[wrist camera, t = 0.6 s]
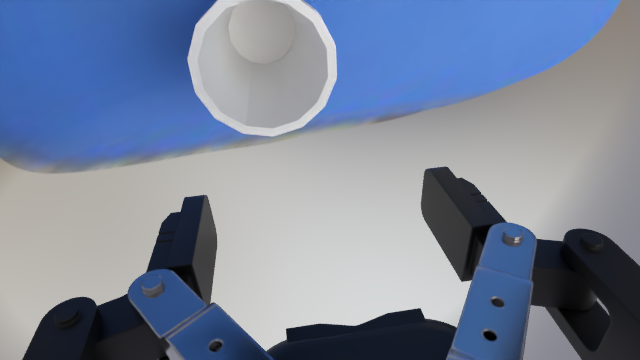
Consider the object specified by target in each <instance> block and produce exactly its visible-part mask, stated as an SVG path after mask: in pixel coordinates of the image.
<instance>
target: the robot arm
mask: <svg viewBox="0 0 640 360" xmlns="http://www.w3.org/2000/svg"><path fill="white" fill-rule="evenodd" d="M421 210H422V214H423V217H424V220H425V221H426V223H427V225H428V226H429V228H430V229H431V231H432V233H433V235H434V236H435V238H436V240H437V241H438V243H439V245H440V246H441V248H442V250H443V251H444V253H445V255H446V256H447V258H448V260H449V261H450V263H451V265H452V266H453V268H454V270H455V271H456V273H457V275H458V276H459V278H460V280H461V281H462V282H463V281H470V280H472V282H471V285H470V288H469V291H468V295H467V298H466V301H465V304H464V307H463V311H462V314H461V317H460V320H459V323H458V326H457V328H456V327H454V326H452V325H450V324H447V323H444V322H441V321H436V320H431V319H425V318H424V315H423V313H422V311H421V309H413V310H406V311H399V312H393V313H387V314H385V315H383V316H380V317H377V318H375V319H373V320H370V321H368V322H366V323H363V324H360V325H357V326H346V325H332V324H314V325H308V326H301V327H295V328H288V329H286V334H287V340H285V341H283V342H280V343H278V344H277V345H275V346H273V347H272V348H270V349H269V350H267V351H265V350H264V349H263V348H262V347H261V346H260V345H259V344H258V343H257V342H256V341H255V340H253V338H251V336H249V335H248V334H247V333H246V332H245V331H244V330H243V329H242V328H241V327H240V326H239V325H238V324H237V323H236V322H235V321H234V320H233V319H232V318H231V317H230V316H229V315H227V313H226V312H225V311H224V310H223V309H222V308H221V307H220V306H218V305H217V304H216V303H211V304H210V301H211V293H212V284H213V275H214V267H215V259H216V250H217V234H216V228H215V224H214V220H213V216H212V212H211V208H210V204H209V200H208V197H207V195H200V196H193V197H185V198H184V201H183V205H182V209H181V212H176V213H171V214H170V215H169V216H168V217H167V218H166V219H165V220H164V221H163V222H162V225H161V228H160V231H159V235H158V237H157V240H156V244H155V246H154V249H153V253H152V256H151V259H150V262H149V266H148V269H147V271H146V273H145V274H143V275H141V276H140V277H138V278H137V279H136V280H135V281H134V282H133V283H132V284H131V286H130V287H129V290H128V294H126V295H124V296H122V297H120V298H117V299H114V300H112V301H109V302H106V303H104V304H101V305H98V306H97V305H96V303H95V302H94V301H93V300H92V299H90V298H87V297H77V298H72V299H69V300H66V301H64V302H62V303H60V304H58V305H57V306H55V307H54V308H52V309H51V310H50V311H49V312H48V313H47V314H46V315H45V316H44V317H43V319H42V320H41V322H40V324H39V326H38V328H37V330H36V332H35V334H34V336H33V338H32V341H31V343H30V345H29V347H28V349H27V351H26V353H25V355H24V358H23V360H523V354H524V348H525V340H526V333H527V327H528V319H529V313H530V306H531V305H535V306H543V307H545V308H546V309H547V310H548V312H549V313H550V315H551V316H552V318H553V319H554V321H555V322H556V323H557V325H558V326H559V328H560V329H561V331H562V332H563V333H564V335H565V336H566V338H567V339H568V341H569V342H570V343H571V345H572V346H573V348H574V349H575V351H576V352H577V353H578V355H579V356H580V358H581V359H582V360H640V266H639V265H638V264H637V263H636V262H635V261H634V260H633V259H631V258H630V257H629V256H628V255H627V254H626V253H625V252H624V251H623V250H622V249H621V248H620V247H619V246H618V245H617V244H615V243H614V242H613V241H612V240H611V239H610V238H608V237H607V236H605V235H603V234H601V233H598V232H595V231H592V230H588V229H573V230H570V231H568V232H567V233H566V234H565V236H564V239H563V241H552V240H541V239H536V237H535V235H534V234H533V233H532V232H531V231H530V230H528V229H527V228H525V227H523V226H520V225H518V224H513V223H507V222H506V221H505V220H504V218H503V217H502V216H501V215H500V214H499V213H498V212H497V210H496V209H495V208H494V207H493V206H492V205H491V204H490V202H487V199H486V198H485V197H484V196H483V195H481V192H480V191H479V190H478V189H477V188H476V187H475V185H474V184H472V183H470V182H468V181H467V180H465V179H463V178H456V177H455V175H454V174H453V173H452V172H451V171H450V169H449V168H448V167H438V168H430V169H426V170H425V173H424V180H423V189H422V199H421ZM597 297H598V298H599V300H600V301H601V302H602V303H603V304H604V305H605V307H606V308H607V310H608V312H609V315H610V316H609V315H608V314H607V312H606V311H605V310H604V309H603V308H602V306H601V305H600V304H599V303H598V302H597V301H596V300H597Z"/></svg>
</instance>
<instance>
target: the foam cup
mask: <svg viewBox="0 0 640 360" xmlns="http://www.w3.org/2000/svg"><path fill="white" fill-rule="evenodd" d="M187 60H188V65H189V69H190V73H191V78H192V82H193V86H194V91H195V93H196V94H197V96H198V97H199V98H200V100H201V101H202V102H203V103H204V105H205V106H206V107H207V109H208V110H209V111H210V112H211V114H212V115H213V116H214V118H215V119H217V120H219V121H221V122H223V123H224V124H226V125H228V126H230V127H232V128H234V129H235V130H237V131H239V132H241V133H243V134H252V135H263V136H277V135H280V134H283V133H286V132H289V131H292V130H295V129H298V128H301V127H303V126H304V125H305V124H306V123H308V122H309V121H310V120H311V119H312V118H313V117H314V116H315V115H316V114H317V113H319V112H320V111H321V110H322V109H323V108H324V107H325V105H326V103H327V100H328V98H329V96H330V93H331V91H332V89H333V86H334V84H335V82H336V79H337V65H336V45H335V43H334V41H333V39H332V37H331V35H330V33H329V31H328V29H327V27H326V26H325V24H324V22H323V20H322V18H321V16H320V14H319V13H318V12H317V11H316V10H315V9H314V8H313V7H312V6H310V5H309V4H308V3H306V2H305V1H304V0H216V2H215V3H214V4H213V5H212V6H211V7H210V8H209V9H208V10H207V12H206V13H205V14H204V15H203V16H202V17H201V18H200V19H199V21H198V22H197V24H196V25H195V29H194V34H193V38H192V42H191V46H190V50H189V54H188V58H187Z"/></svg>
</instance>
